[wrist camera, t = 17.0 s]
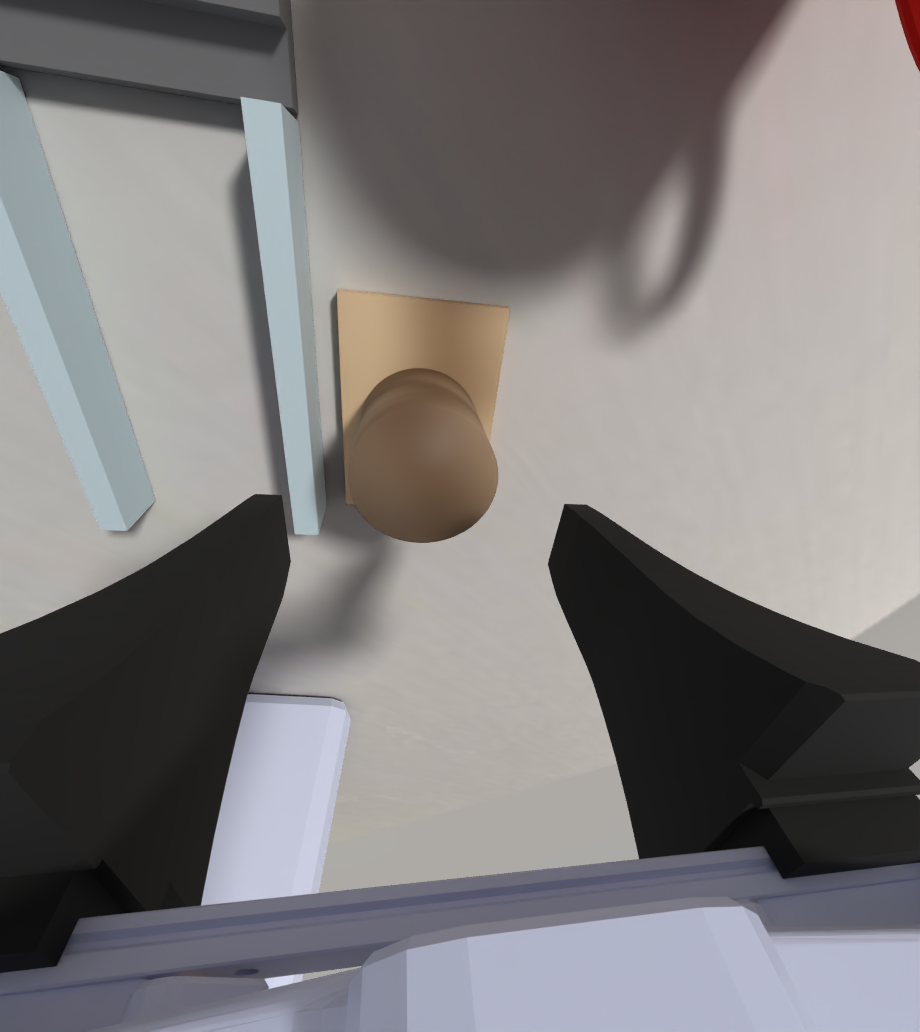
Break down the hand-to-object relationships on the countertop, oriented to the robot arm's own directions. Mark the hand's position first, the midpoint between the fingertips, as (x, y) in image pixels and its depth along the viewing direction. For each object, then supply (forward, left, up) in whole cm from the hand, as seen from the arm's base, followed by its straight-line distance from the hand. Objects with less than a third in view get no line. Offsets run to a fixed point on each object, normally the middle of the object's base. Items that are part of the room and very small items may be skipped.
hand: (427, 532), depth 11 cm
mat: (0, 0, -9) cm, 9 cm away
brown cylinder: (0, -1, -9) cm, 9 cm away
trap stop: (-8, +10, -9) cm, 16 cm away
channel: (-8, +2, -9) cm, 13 cm away
